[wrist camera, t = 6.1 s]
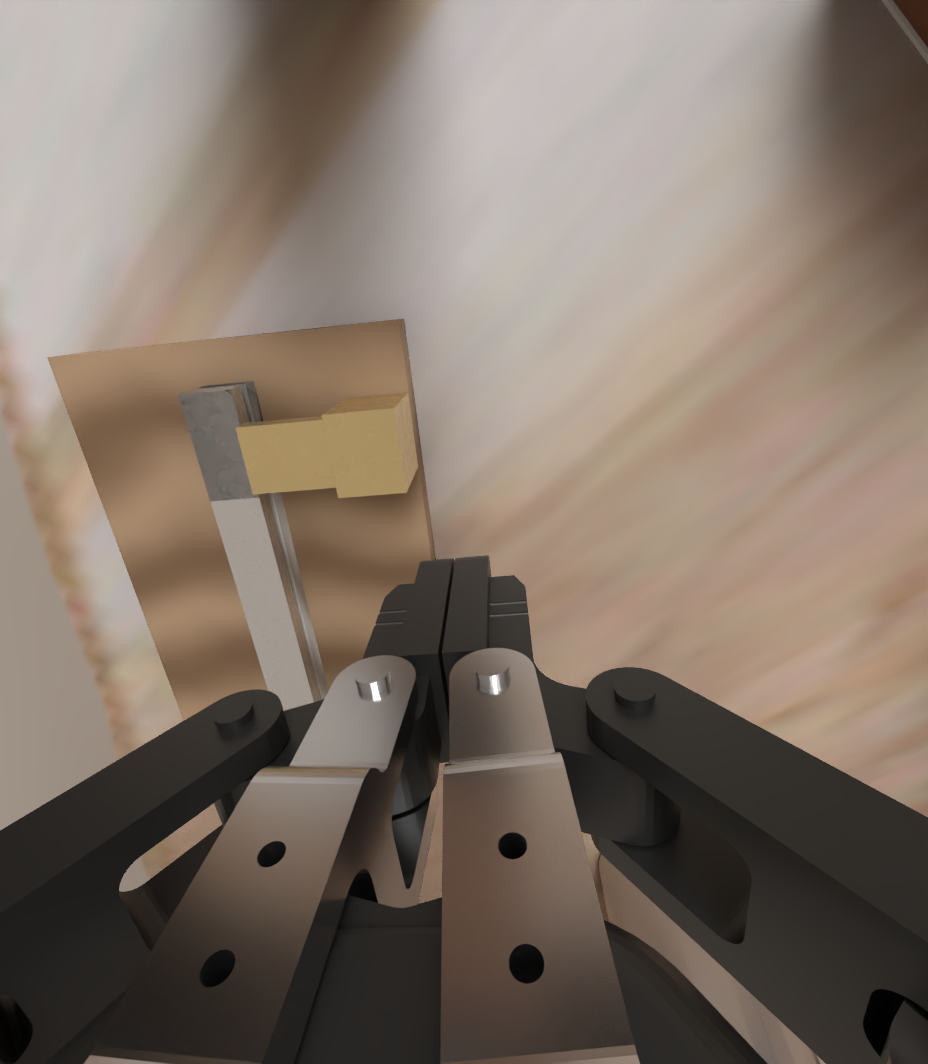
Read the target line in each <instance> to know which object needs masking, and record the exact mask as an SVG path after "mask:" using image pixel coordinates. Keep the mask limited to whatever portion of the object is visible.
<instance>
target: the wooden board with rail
mask: <svg viewBox="0 0 928 1064" xmlns="http://www.w3.org/2000/svg"><path fill="white" fill-rule="evenodd" d="M47 358H48V361H49V363H50V366H51V369H52V371H53V374H54V377H55V379H56V382H57V385H58V387H59V390H60V393H61V395H62V398H63V401H64V403H65V406H66V408H67V411H68V414H69V416H70V419H71V422H72V424H73V427H74V430H75V432H76V435H77V438H78V440H79V443H80V446H81V448H82V451H83V454H84V456H85V459H86V462H87V464H88V467H89V470H90V472H91V475H92V478H93V480H94V483H95V486H96V488H97V491H98V494H99V496H100V499H101V502H102V504H103V507H104V510H105V512H106V515H107V518H108V520H109V523H110V526H111V528H112V531H113V534H114V536H115V539H116V542H117V544H118V547H119V550H120V552H121V555H122V558H123V560H124V563H125V566H126V568H127V571H128V573H129V576H130V579H131V581H132V584H133V587H134V589H135V592H136V595H137V597H138V600H139V603H140V605H141V608H142V611H143V613H144V616H145V619H146V621H147V624H148V627H149V629H150V632H151V635H152V637H153V640H154V643H155V645H156V648H157V651H158V653H159V656H160V659H161V661H162V664H163V667H164V669H165V672H166V675H167V677H168V680H169V683H170V685H171V688H172V691H173V693H174V696H175V699H176V701H177V704H178V707H179V709H180V712H181V715H182V717H183V720H186V719H188V718H189V717H191V716H193V715H194V714H196V713H198V712H199V711H201V710H203V709H204V708H206V707H208V706H209V705H211V704H213V703H214V702H216V701H218V700H220V699H222V698H224V697H226V696H229V695H231V694H234V693H237V692H241V691H245V690H253V689H260V690H267V691H268V689H267V686H266V682H265V679H264V676H263V672H262V669H261V666H260V663H259V659H258V656H257V653H256V649H255V646H254V643H253V640H252V636H251V633H250V630H249V627H248V623H247V620H246V617H245V613H244V610H243V607H242V604H241V600H240V597H239V594H238V590H237V587H236V584H235V581H234V577H233V574H232V571H231V568H230V564H229V561H228V558H227V554H226V551H225V548H224V545H223V541H222V538H221V535H220V531H219V528H218V525H217V522H216V518H215V515H214V512H213V509H212V505H211V502H210V499H209V495H208V492H207V489H206V486H205V482H204V479H203V476H202V472H201V469H200V466H199V463H198V459H197V456H196V453H195V450H194V446H193V443H192V440H191V436H190V433H189V430H188V427H187V423H186V420H185V417H184V413H183V410H182V407H181V404H180V400H179V397H178V394H181V393H184V392H187V391H191V390H201V389H211V388H221V387H231V386H240V387H241V391H242V395H243V399H244V403H245V406H246V410H247V414H248V418H249V422H261V421H272V420H282V419H293V418H304V417H315V416H322V414H324V413H325V412H327V411H328V410H330V409H331V408H333V407H334V406H336V405H337V404H339V403H340V402H341V401H343V400H344V399H348V398H358V397H369V396H379V395H389V394H400V393H408V396H409V403H410V411H411V418H412V425H413V433H414V440H415V447H416V455H417V462H418V468H417V470H416V473H415V475H414V477H413V479H412V482H411V484H410V486H409V488H408V491H407V493H397V494H385V495H373V496H360V497H348V498H338V495H337V490H336V488H326V489H314V490H302V491H290V492H277V493H268V495H269V499H270V503H271V507H272V511H273V515H274V519H275V522H276V526H277V530H278V534H279V538H280V542H281V546H282V550H283V553H284V557H285V561H286V565H287V569H288V573H289V577H290V580H291V584H292V588H293V592H294V596H295V600H296V604H297V608H298V611H299V615H300V619H301V623H302V627H303V631H304V635H305V638H306V642H307V646H308V650H309V654H310V658H311V662H312V666H313V669H314V673H315V677H316V681H317V685H318V689H319V693H320V696H321V700H322V699H325V697H326V695H327V693H328V691H329V689H330V687H331V686H332V684H333V682H334V680H335V679H336V677H337V676H338V675H339V674H340V673H341V672H342V671H343V670H344V669H345V668H347V667H348V666H350V665H351V664H353V663H355V662H357V661H360V660H362V659H363V656H364V653H365V650H366V648H367V645H368V642H369V639H370V637H371V634H372V631H373V628H374V626H376V620H377V617H378V614H380V609H381V606H382V603H383V601H384V598H385V597H386V596H387V595H388V594H389V593H390V592H391V591H392V590H393V589H394V588H395V587H396V586H397V585H400V584H412V583H414V582H415V579H416V575H417V571H418V568H419V564H420V562H421V561H428V560H436V558H435V550H434V543H433V535H432V528H431V520H430V513H429V505H428V498H427V490H426V482H425V475H424V467H423V460H422V452H421V445H420V437H419V430H418V422H417V415H416V407H415V400H414V392H413V385H412V377H411V369H410V362H409V354H408V347H407V339H406V332H405V324H404V319H398V320H388V321H379V322H370V323H360V324H351V325H341V326H332V327H323V328H313V329H304V330H295V331H285V332H276V333H267V334H257V335H248V336H239V337H229V338H220V339H211V340H201V341H192V342H183V343H173V344H164V345H155V346H145V347H136V348H127V349H117V350H108V351H99V352H89V353H80V354H71V355H63V356H55V357H47Z"/></svg>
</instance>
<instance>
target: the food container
mask: <svg viewBox="0 0 928 1064" xmlns="http://www.w3.org/2000/svg"><path fill="white" fill-rule="evenodd" d="M881 1H882V3H883V4H884V5H885V7H886V8H887V9H888V11H889V12H890V13H891V15H892V16H893V18H894V19H895V20H896V22H897V23H898V24H899V26H900V27H901V28H902V30H903V31H904V33H905V34H906V35H907V37H908V38H909V39H910V41H911V42H912V43H913V45H914V46H915V48H916V49H917V50H918V52H919V53H920V54H921V56H922V57H923V58H924V60H925V61H926V63H927V64H928V0H881Z"/></svg>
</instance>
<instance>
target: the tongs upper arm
mask: <svg viewBox="0 0 928 1064" xmlns="http://www.w3.org/2000/svg"><path fill="white" fill-rule="evenodd" d="M178 397H179V400H180V404H181V407H182V410H183V413H184V417H185V420H186V423H187V427H188V430H189V433H190V436H191V440H192V443H193V446H194V450H195V453H196V456H197V459H198V463H199V466H200V469H201V472H202V476H203V479H204V482H205V486H206V489H207V492H208V495H209V499H210V502H211V505H212V509H213V512H214V515H215V518H216V522H217V525H218V528H219V531H220V535H221V538H222V541H223V545H224V548H225V551H226V554H227V558H228V561H229V564H230V568H231V571H232V574H233V577H234V581H235V584H236V587H237V590H238V594H239V597H240V600H241V604H242V607H243V610H244V613H245V617H246V620H247V623H248V627H249V630H250V633H251V636H252V640H253V643H254V646H255V649H256V653H257V656H258V659H259V663H260V666H261V669H262V672H263V676H264V679H265V682H266V686H267V689H268V691H271V692H273V693H274V694H276V695H277V696H278V697H279V699H280V700H281V704H282V707H283V710H284V711H285V710H289V709H292V708H296V707H299V706H303V705H306V704H310V703H313V702H316V701H319V700H321V696H320V693H319V689H318V685H317V681H316V677H315V673H314V669H313V666H312V662H311V658H310V654H309V650H308V646H307V642H306V638H305V635H304V631H303V627H302V623H301V619H300V615H299V611H298V608H297V604H296V600H295V596H294V592H293V588H292V584H291V580H290V577H289V573H288V569H287V565H286V561H285V557H284V553H283V550H282V546H281V542H280V538H279V534H278V530H277V526H276V522H275V519H274V515H273V511H272V507H271V503H270V499H269V495H268V493H265V494H253V493H252V489H251V486H250V482H249V478H248V474H247V470H246V466H245V463H244V459H243V455H242V451H241V447H240V444H239V440H238V436H237V432H236V427H238V426H240V425H242V424H244V423H250V422H249V418H248V414H247V410H246V406H245V403H244V399H243V395H242V391H241V387H240V386H231V387H221V388H211V389H201V390H191V391H187V392H184V393H181V394H178Z"/></svg>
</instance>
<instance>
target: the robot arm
mask: <svg viewBox="0 0 928 1064" xmlns="http://www.w3.org/2000/svg"><path fill="white" fill-rule="evenodd" d="M442 762H450V763H449V764H445V766H444V775H443V860H442V898H438V899H435V900H431V901H428V902H424V903H421V904H418V902H419V897H420V892H421V886H422V881H423V876H424V871H425V866H426V861H427V856H428V851H429V846H430V840H431V835H432V830H433V825H434V820H435V815H436V810H437V805H438V793H437V787H436V783H437V778H438V770H439V763H442ZM213 803H214V804H215V807H216V809H217V812H218V814H219V817H220V819H221V822H222V825H221V826H220V827H218V828H217V829H216V830H214V831H213V832H212V833H210V834H209V835H208V836H206V837H205V838H204V839H202V840H201V841H200V842H199V843H197V844H196V845H195V846H193V847H192V848H191V849H189V850H188V851H187V852H185V853H184V854H183V855H181V856H180V857H179V858H178V859H176V860H175V861H174V862H172V863H171V864H170V865H168V866H167V867H166V868H164V869H163V870H162V871H160V872H159V873H158V874H157V875H155V876H154V877H153V878H151V879H150V880H149V881H147V882H146V883H145V884H143V885H142V886H140V887H138V888H137V889H134V890H131V891H127V892H120V891H119V885H120V882H121V879H122V877H123V875H124V873H125V872H126V870H127V869H128V868H129V867H130V865H131V864H132V863H133V862H134V861H135V860H136V859H138V858H139V857H140V856H141V855H143V854H144V853H145V852H147V851H148V850H150V849H151V848H152V847H154V846H155V845H156V844H158V843H159V842H161V841H162V840H163V839H165V838H166V837H168V836H169V835H170V834H172V833H173V832H174V831H176V830H177V829H179V828H180V827H181V826H183V825H184V824H185V823H187V822H188V821H190V820H191V819H192V818H194V817H195V816H196V815H198V814H199V813H201V812H202V811H203V810H205V809H206V808H207V807H209V806H210V805H212V804H213ZM581 832H584V833H588V834H591V836H592V840H593V842H594V844H595V846H596V848H597V849H598V851H599V852H600V853H601V856H600V859H599V873H600V878H601V884H602V889H603V894H604V900H605V905H606V910H607V916H608V921H609V922H607V921H605V920H603V916H602V912H601V908H600V904H599V900H598V896H597V892H596V888H595V884H594V880H593V876H592V872H591V868H590V864H589V860H588V856H587V852H586V848H585V844H584V840H583V836H582V833H581ZM817 1056H818V1057H819V1058H821V1059H822V1060H823V1061H824V1062H825V1063H826V1064H928V817H926V816H924V815H922V814H920V813H918V812H916V811H915V810H913V809H911V808H909V807H907V806H905V805H903V804H902V803H900V802H898V801H896V800H894V799H892V798H890V797H889V796H887V795H885V794H883V793H881V792H879V791H877V790H876V789H874V788H872V787H870V786H868V785H866V784H864V783H863V782H861V781H859V780H857V779H855V778H853V777H851V776H850V775H848V774H846V773H844V772H842V771H840V770H838V769H836V768H835V767H833V766H831V765H829V764H827V763H825V762H823V761H822V760H820V759H818V758H816V757H814V756H812V755H810V754H809V753H807V752H805V751H803V750H801V749H799V748H797V747H796V746H794V745H792V744H790V743H788V742H786V741H784V740H783V739H781V738H779V737H777V736H775V735H773V734H771V733H770V732H768V731H766V730H764V729H762V728H760V727H758V726H757V725H755V724H753V723H751V722H749V721H747V720H745V719H744V718H742V717H740V716H738V715H736V714H734V713H732V712H731V711H729V710H727V709H725V708H723V707H721V706H719V705H718V704H716V703H714V702H712V701H710V700H708V699H706V698H705V697H703V696H701V695H699V694H697V693H695V692H693V691H692V690H690V689H688V688H686V687H684V686H682V685H680V684H679V683H677V682H675V681H673V680H671V679H669V678H667V677H666V676H663V675H661V674H659V673H657V672H654V671H651V670H647V669H642V668H634V667H624V668H616V669H611V670H608V671H605V672H603V673H601V674H599V675H598V676H596V677H595V678H594V679H593V680H592V681H591V682H590V683H589V685H588V687H587V689H584V688H578V687H572V686H568V685H564V684H561V683H558V682H556V681H553V680H551V679H550V678H548V677H546V676H545V675H544V674H543V673H541V672H540V671H539V669H538V668H537V667H536V665H535V663H534V659H533V653H532V644H531V635H530V626H529V617H528V608H527V599H526V590H525V586H524V585H523V584H522V583H521V582H520V581H519V580H518V579H517V578H516V577H515V576H514V575H513V576H500V577H491V569H490V561H489V556H476V557H464V558H456V559H455V561H454V559H441V560H428V561H421V562H420V564H419V568H418V571H417V575H416V579H415V582H414V583H412V584H400V585H397V586H396V587H395V588H394V589H393V590H392V591H391V592H390V593H389V594H388V595H387V596H386V597H385V598H384V601H383V603H382V606H381V609H380V614H378V617H377V620H376V626H374V628H373V631H372V634H371V637H370V639H369V642H368V645H367V648H366V650H365V653H364V656H363V659H362V660H360V661H357V662H355V663H353V664H351V665H350V666H348V667H347V668H345V669H344V670H343V671H342V672H341V673H340V674H339V675H338V676H337V677H336V679H335V680H334V682H333V684H332V686H331V687H330V689H329V691H328V693H327V695H326V697H325V699H322V700H319V701H316V702H313V703H310V704H306V705H303V706H299V707H296V708H292V709H289V710H285V711H284V710H283V707H282V704H281V700H280V699H279V697H278V696H277V695H276V694H274V693H273V692H271V691H267V690H260V689H253V690H245V691H241V692H237V693H234V694H231V695H229V696H226V697H224V698H222V699H220V700H218V701H216V702H214V703H213V704H211V705H209V706H208V707H206V708H204V709H203V710H201V711H199V712H198V713H196V714H194V715H193V716H191V717H189V718H188V719H186V720H184V721H183V722H181V723H179V724H178V725H176V726H174V727H173V728H171V729H169V730H168V731H166V732H164V733H163V734H161V735H159V736H158V737H156V738H154V739H153V740H151V741H149V742H148V743H146V744H144V745H143V746H141V747H139V748H138V749H136V750H134V751H133V752H131V753H129V754H127V755H126V756H124V757H122V758H121V759H119V760H117V761H116V762H114V763H112V764H111V765H109V766H107V767H106V768H104V769H102V770H101V771H99V772H97V773H96V774H94V775H92V776H91V777H89V778H87V779H86V780H84V781H82V782H81V783H79V784H77V785H76V786H74V787H72V788H71V789H69V790H67V791H66V792H64V793H62V794H61V795H59V796H57V797H56V798H54V799H52V800H51V801H49V802H47V803H46V804H44V805H42V806H41V807H39V808H37V809H36V810H34V811H33V812H31V813H29V814H27V815H26V816H24V817H22V818H21V819H19V820H17V821H16V822H14V823H12V824H10V825H9V826H7V827H5V828H4V829H3V830H0V1064H820V1062H819V1059H818V1057H817Z"/></svg>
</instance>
